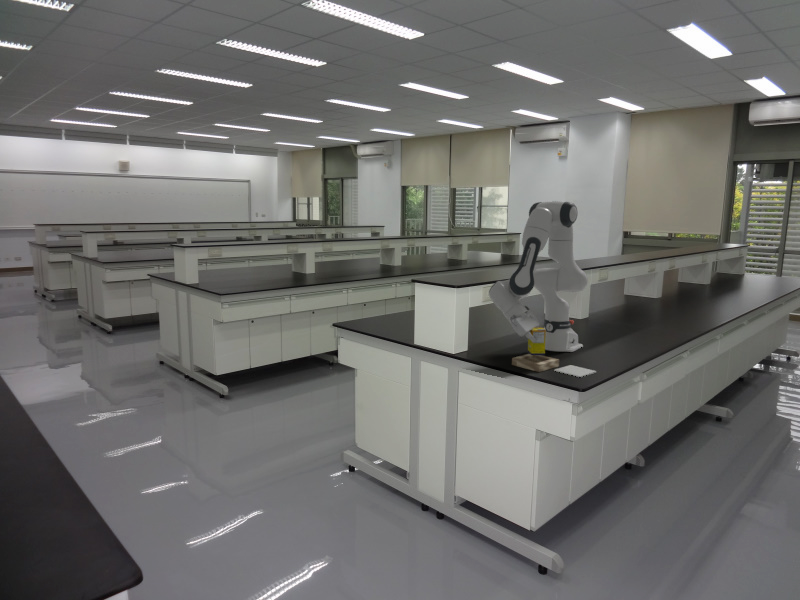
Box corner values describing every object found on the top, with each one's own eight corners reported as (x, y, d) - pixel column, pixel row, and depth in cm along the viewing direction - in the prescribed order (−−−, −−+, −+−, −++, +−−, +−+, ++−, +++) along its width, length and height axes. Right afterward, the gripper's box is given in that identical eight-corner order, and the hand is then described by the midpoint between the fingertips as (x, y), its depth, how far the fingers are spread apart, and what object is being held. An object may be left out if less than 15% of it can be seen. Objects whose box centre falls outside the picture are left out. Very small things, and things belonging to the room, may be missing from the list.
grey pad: (570, 366, 227) (570, 364, 227) (596, 372, 218) (596, 371, 218) (554, 371, 220) (554, 369, 220) (580, 377, 211) (580, 376, 211)
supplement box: (540, 351, 231) (542, 326, 229) (545, 355, 225) (546, 330, 223) (527, 351, 231) (528, 326, 229) (531, 355, 225) (532, 330, 223)
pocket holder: (531, 359, 238) (532, 353, 237) (558, 366, 227) (559, 359, 227) (511, 364, 229) (512, 358, 228) (539, 372, 218) (539, 364, 218)
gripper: (514, 313, 219) (536, 339, 216) (528, 305, 237) (549, 330, 233) (503, 322, 222) (525, 348, 219) (518, 314, 240) (539, 338, 236)
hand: (538, 338), depth 226 cm, fingers closed on supplement box, 8 cm apart
